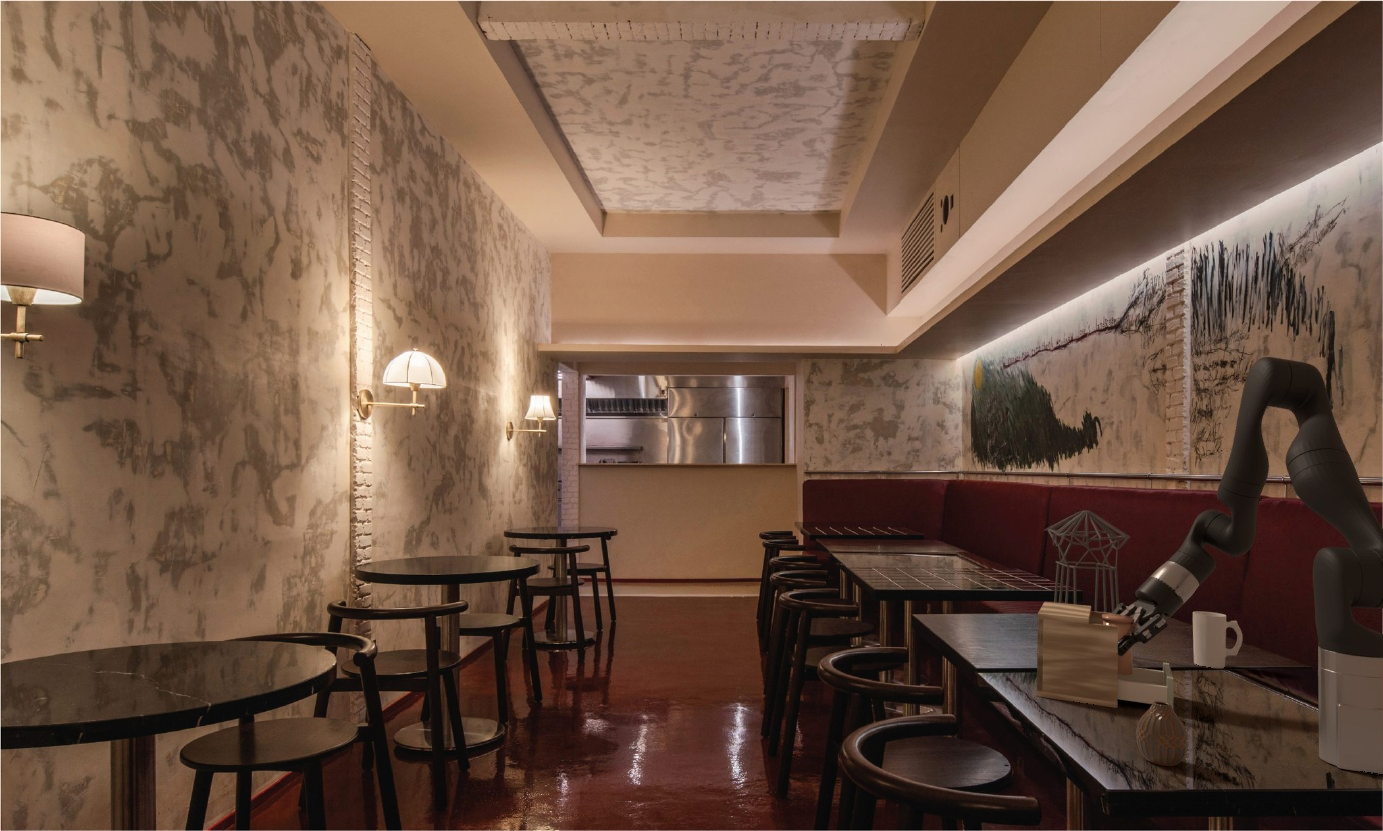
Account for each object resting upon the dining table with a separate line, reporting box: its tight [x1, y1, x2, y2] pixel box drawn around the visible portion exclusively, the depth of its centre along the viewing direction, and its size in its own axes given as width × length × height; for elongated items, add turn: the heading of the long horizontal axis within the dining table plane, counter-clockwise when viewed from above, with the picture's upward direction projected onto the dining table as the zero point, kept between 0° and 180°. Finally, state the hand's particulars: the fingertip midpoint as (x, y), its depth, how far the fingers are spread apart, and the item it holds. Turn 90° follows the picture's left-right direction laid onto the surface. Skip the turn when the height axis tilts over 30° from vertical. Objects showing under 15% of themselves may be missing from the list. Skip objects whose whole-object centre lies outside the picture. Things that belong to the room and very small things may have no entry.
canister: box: [1102, 614, 1133, 675], centre depth 166 cm, size 6×6×11 cm
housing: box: [1036, 601, 1118, 709], centre depth 169 cm, size 18×14×16 cm
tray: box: [1117, 662, 1174, 710], centre depth 165 cm, size 15×13×6 cm
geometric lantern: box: [1043, 509, 1131, 613], centre depth 205 cm, size 16×16×35 cm
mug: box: [1192, 610, 1243, 669], centre depth 198 cm, size 10×7×12 cm, turn 68°
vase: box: [1135, 701, 1189, 767], centre depth 129 cm, size 7×7×9 cm
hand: (1108, 649), depth 166 cm, fingers closed on canister, 5 cm apart
